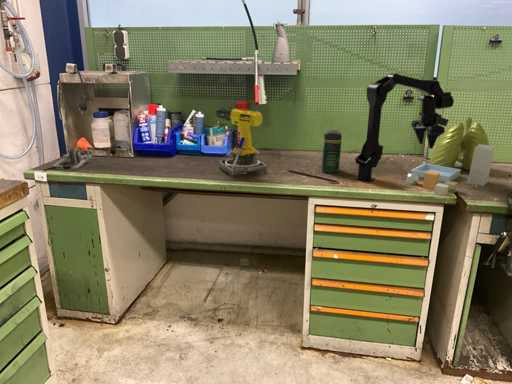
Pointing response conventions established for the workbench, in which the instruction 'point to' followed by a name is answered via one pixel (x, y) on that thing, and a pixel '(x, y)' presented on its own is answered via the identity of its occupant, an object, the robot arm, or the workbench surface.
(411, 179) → the grey metal puck
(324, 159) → the coffee jar
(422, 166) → the parts tray
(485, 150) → the skincare box
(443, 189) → the offwhite block
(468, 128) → the lungs
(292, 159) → the workbench surface
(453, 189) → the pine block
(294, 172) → the crowbar
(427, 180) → the orange block
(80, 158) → the bike brake
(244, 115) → the cordless drill
